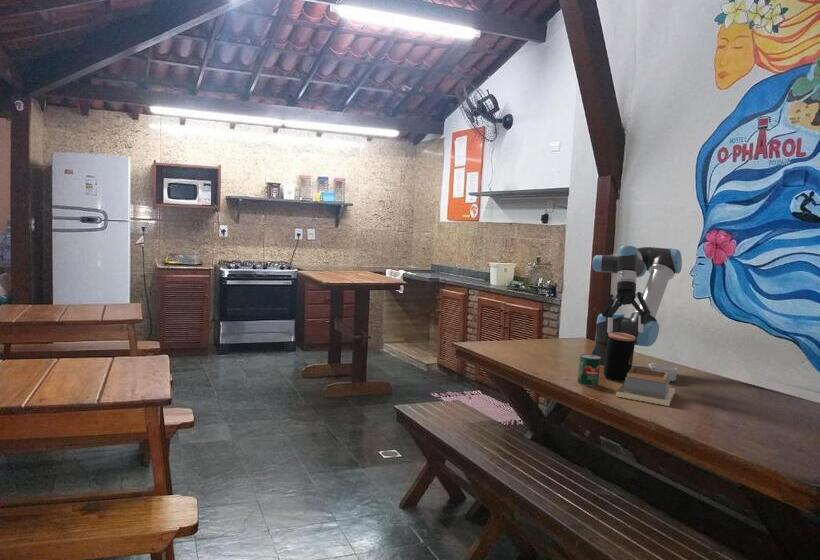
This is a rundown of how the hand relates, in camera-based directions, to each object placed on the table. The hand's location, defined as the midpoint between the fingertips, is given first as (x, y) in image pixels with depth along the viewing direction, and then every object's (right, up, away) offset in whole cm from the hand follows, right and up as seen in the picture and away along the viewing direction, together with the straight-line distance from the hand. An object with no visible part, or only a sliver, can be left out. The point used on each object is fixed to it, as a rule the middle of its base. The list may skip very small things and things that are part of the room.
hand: (624, 332), depth 246 cm
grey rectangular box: (0, -22, -21) cm, 30 cm away
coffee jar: (-2, -19, +4) cm, 20 cm away
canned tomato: (-18, -20, -9) cm, 28 cm away
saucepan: (+14, -20, +7) cm, 26 cm away
